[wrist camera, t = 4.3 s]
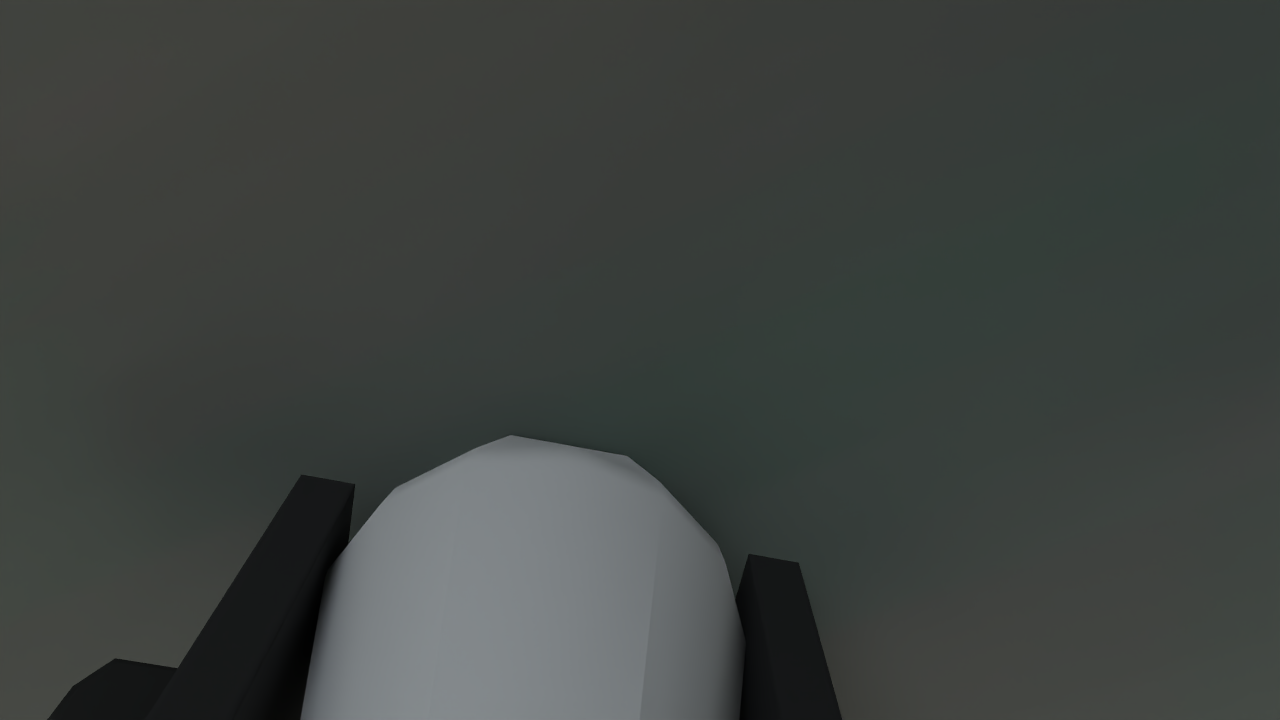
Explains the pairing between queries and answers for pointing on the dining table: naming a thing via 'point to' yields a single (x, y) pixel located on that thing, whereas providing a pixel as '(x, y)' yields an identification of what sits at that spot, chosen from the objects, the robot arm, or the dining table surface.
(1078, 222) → the dining table surface
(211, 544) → the dining table surface
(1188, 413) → the dining table surface
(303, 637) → the robot arm
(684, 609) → the salt shaker
